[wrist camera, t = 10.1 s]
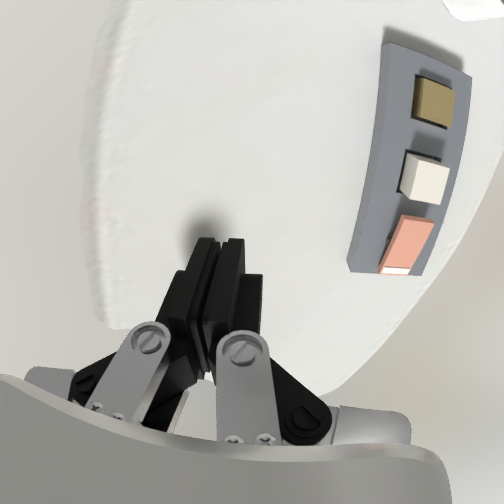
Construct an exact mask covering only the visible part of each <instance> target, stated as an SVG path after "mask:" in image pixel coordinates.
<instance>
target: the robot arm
mask: <svg viewBox="0 0 504 504" xmlns="http://www.w3.org/2000/svg"><path fill="white" fill-rule="evenodd" d="M262 283H263V275H262V274H245V243H244V239H236V238H229V240H228V242H223V245H222V248H221V247H220V242H215V238H204V237H200V238H199V239H198V241H197V244H196V246H195V248H194V251H193V253H192V255H191V258H190V260H189V262H188V265H187V267H186V270H185V271H183V270H178V271H177V272H176V274H175V276H174V278H173V280H172V282H171V285H170V287H169V289H168V292H167V294H166V296H165V298H164V301H163V303H162V306H161V308H160V310H159V313H158V315H157V318H156V320H155V322H153V321H150V322H144V323H141V324H139V325H137V326H136V327H134V328H133V329H132V330H131V331H130V332H129V334H128V335H127V337H126V338H125V340H124V341H123V343H122V345H121V346H120V348H119V350H118V351H117V352H115V353H113V354H111V355H109V356H107V357H105V358H103V359H101V360H99V361H97V362H95V363H93V364H91V365H89V366H87V367H85V368H83V369H81V370H80V371H79V372H75V371H74V370H69V369H68V370H67V369H57V368H47V367H33V368H32V369H30V370H29V371H28V372H27V374H26V376H25V379H24V380H22V379H20V378H17V377H14V376H10V375H5V374H0V504H452V498H451V490H450V484H449V480H448V475H447V472H446V469H445V467H444V464H443V462H442V460H441V459H440V458H439V457H438V455H436V454H435V453H434V452H432V451H430V450H427V449H425V448H422V447H418V446H414V445H410V440H411V424H410V422H409V420H408V418H407V417H406V416H404V415H403V414H402V413H399V412H394V411H381V410H372V409H363V408H354V407H347V406H340V407H339V408H338V407H331V406H327V405H326V404H325V403H324V402H323V401H322V400H320V399H319V398H318V397H317V396H315V395H314V394H313V393H312V392H311V391H309V390H308V389H307V388H306V387H304V386H303V385H302V384H301V383H300V382H298V381H297V380H296V379H295V378H294V377H293V376H291V375H290V374H289V373H288V372H287V371H285V370H284V369H283V368H282V367H281V366H280V365H279V364H277V363H276V362H275V361H274V360H273V359H272V358H271V357H270V356H269V349H268V346H267V343H266V341H265V340H264V339H263V337H261V336H260V322H261V308H262ZM210 370H211V373H212V376H213V380H214V384H215V386H216V411H217V413H216V417H217V441H211V440H204V439H197V438H192V437H186V436H181V435H175V434H173V432H174V429H175V427H176V424H177V422H178V419H179V417H180V414H181V412H182V409H183V407H184V405H185V402H186V400H187V397H188V395H189V392H190V387H191V386H192V385H194V384H195V383H197V379H202V380H203V379H204V375H205V372H210Z"/></svg>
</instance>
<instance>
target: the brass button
mask: <svg viewBox="0 0 504 504" xmlns="http://www.w3.org/2000/svg"><path fill="white" fill-rule="evenodd" d="M455 93H456V91H454V90H451V89H449V88H447V87H445V86H442V85H440V84H438V83H435V82H433V81H430V80H428V79H425V78H415V80H414V92H413V101H412V109H411V115H414V116H417V117H420V118H424V119H427V120H430V121H433V122H435V123H438V124H441V125H444V126H447V127H450V128H451V125H452V118H453V111H454V103H455Z"/></svg>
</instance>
